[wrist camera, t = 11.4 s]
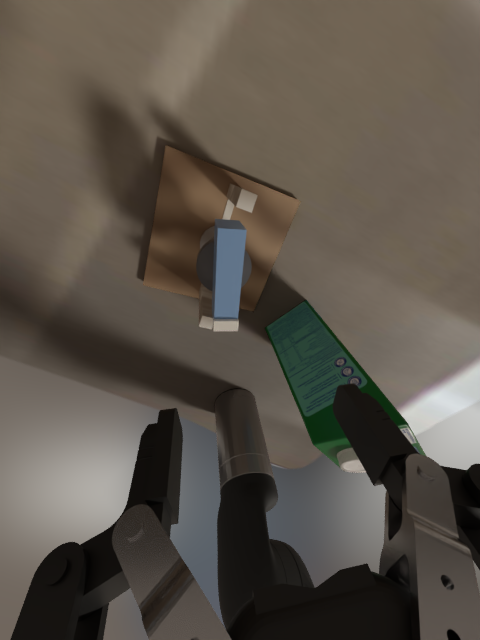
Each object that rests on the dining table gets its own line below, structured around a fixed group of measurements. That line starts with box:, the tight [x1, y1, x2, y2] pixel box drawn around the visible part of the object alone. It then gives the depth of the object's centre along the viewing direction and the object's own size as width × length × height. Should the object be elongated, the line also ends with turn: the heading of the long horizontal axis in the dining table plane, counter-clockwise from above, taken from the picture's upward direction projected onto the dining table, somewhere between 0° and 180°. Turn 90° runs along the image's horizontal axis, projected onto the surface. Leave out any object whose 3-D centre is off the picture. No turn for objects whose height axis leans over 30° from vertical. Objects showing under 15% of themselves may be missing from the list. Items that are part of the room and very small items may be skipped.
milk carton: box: [265, 300, 426, 473], centre depth 35 cm, size 9×9×25 cm
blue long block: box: [196, 219, 252, 331], centre depth 25 cm, size 6×10×6 cm, turn 175°
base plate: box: [143, 145, 301, 329], centre depth 31 cm, size 18×18×11 cm
